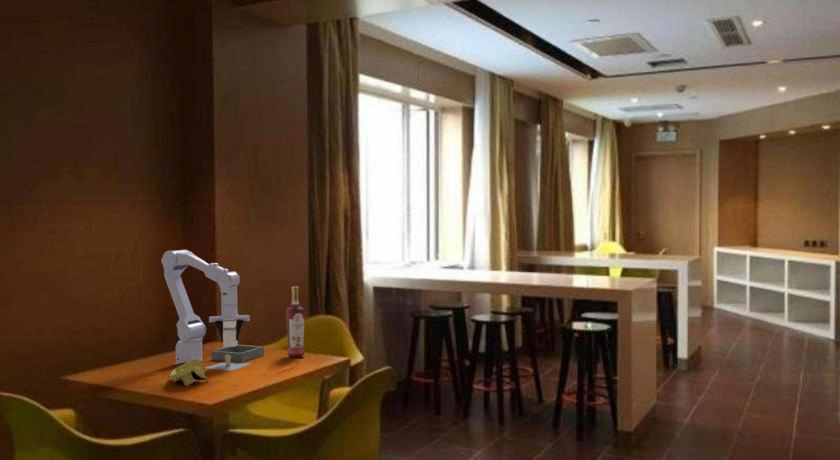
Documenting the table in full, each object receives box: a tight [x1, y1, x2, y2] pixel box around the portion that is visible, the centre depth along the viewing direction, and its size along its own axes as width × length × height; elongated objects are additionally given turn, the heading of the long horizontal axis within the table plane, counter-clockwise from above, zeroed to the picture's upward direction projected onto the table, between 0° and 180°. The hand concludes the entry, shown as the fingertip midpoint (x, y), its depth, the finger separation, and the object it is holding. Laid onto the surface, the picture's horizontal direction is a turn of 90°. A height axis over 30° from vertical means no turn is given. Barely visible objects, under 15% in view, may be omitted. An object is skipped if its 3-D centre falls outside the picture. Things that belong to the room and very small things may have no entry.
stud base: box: [205, 354, 251, 372], centre depth 262 cm, size 12×12×6 cm
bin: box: [211, 344, 265, 363], centre depth 278 cm, size 14×14×4 cm
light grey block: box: [222, 326, 238, 348], centre depth 265 cm, size 5×5×7 cm
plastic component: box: [169, 358, 208, 387], centre depth 244 cm, size 20×7×10 cm
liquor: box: [285, 286, 306, 359], centre depth 282 cm, size 7×7×28 cm
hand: (229, 340), depth 266 cm, fingers closed on light grey block, 5 cm apart
